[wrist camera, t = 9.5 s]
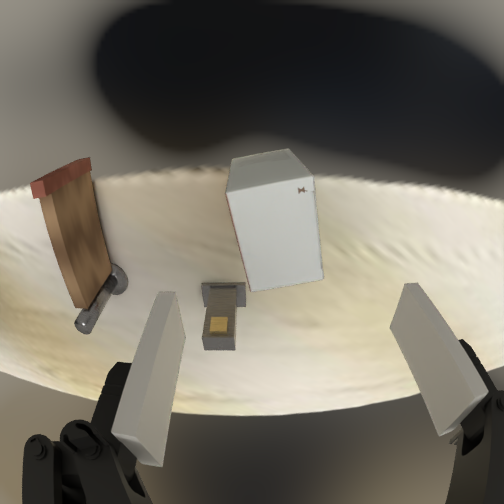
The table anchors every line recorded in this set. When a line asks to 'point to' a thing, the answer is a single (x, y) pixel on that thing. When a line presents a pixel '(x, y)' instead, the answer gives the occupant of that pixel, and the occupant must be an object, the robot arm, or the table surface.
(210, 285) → the latch post
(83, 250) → the gate
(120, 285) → the pivot post
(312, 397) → the table surface
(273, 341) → the table surface
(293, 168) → the small box
